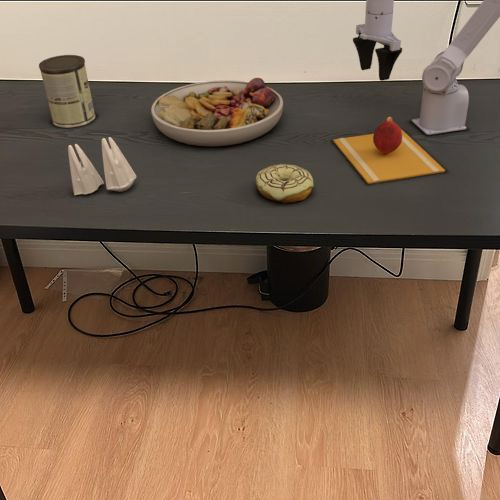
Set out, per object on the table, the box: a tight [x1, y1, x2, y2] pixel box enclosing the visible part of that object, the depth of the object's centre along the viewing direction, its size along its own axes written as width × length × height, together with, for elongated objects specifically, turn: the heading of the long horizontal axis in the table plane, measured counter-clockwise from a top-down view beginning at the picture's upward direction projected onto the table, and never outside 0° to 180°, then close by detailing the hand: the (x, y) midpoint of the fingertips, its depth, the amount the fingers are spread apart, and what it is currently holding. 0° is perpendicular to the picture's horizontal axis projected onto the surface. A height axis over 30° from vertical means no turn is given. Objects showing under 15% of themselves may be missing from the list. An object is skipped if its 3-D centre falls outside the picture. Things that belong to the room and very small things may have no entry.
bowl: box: [150, 77, 284, 147], centre depth 145 cm, size 30×30×8 cm
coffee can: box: [38, 54, 96, 129], centre depth 149 cm, size 10×10×14 cm
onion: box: [373, 116, 402, 154], centre depth 128 cm, size 6×6×8 cm
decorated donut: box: [255, 163, 315, 204], centre depth 119 cm, size 10×11×4 cm
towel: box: [332, 129, 446, 185], centre depth 130 cm, size 16×20×1 cm
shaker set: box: [67, 136, 137, 196], centre depth 120 cm, size 12×4×11 cm, turn 88°
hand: (374, 74), depth 141 cm, fingers open, 7 cm apart
